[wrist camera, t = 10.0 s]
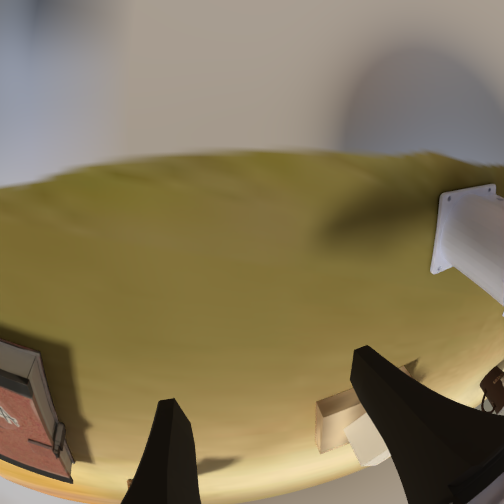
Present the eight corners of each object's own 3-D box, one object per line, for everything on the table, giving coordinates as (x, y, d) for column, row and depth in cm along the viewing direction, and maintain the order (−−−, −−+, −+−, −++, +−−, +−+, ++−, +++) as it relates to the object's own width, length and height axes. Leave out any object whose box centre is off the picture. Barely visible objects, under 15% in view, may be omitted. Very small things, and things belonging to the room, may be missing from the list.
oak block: (401, 362, 32) (413, 378, 29) (385, 409, 37) (393, 423, 35) (314, 397, 30) (323, 417, 28) (313, 438, 36) (320, 454, 33)
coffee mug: (504, 360, 48) (525, 384, 39) (485, 385, 51) (504, 409, 42) (487, 367, 44) (511, 395, 36) (465, 394, 48) (487, 423, 39)
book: (79, 461, 30) (77, 487, 25) (-14, 428, 24) (-20, 452, 20) (48, 350, 20) (33, 392, 16) (-74, 301, 15) (-96, 329, 10)
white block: (370, 409, 30) (391, 446, 24) (384, 413, 32) (404, 446, 26) (343, 429, 31) (361, 466, 25) (359, 431, 33) (376, 465, 27)
